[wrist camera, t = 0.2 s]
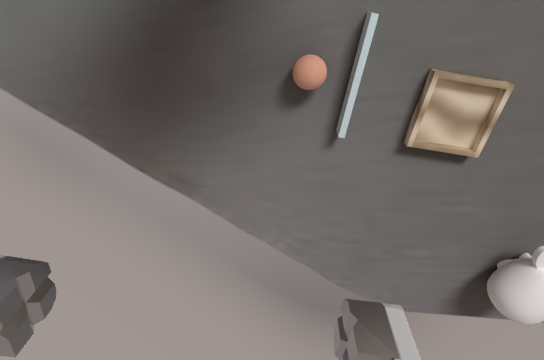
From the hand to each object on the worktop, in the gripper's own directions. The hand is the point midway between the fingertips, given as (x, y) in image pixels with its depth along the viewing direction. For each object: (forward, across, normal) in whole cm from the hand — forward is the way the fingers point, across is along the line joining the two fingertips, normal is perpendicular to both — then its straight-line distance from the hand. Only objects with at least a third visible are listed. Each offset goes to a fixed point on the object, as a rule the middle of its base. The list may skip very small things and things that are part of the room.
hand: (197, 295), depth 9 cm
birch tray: (+47, -30, +6) cm, 56 cm away
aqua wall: (+47, -13, +3) cm, 49 cm away
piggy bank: (+47, -55, +35) cm, 80 cm away
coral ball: (+45, -6, +2) cm, 45 cm away
